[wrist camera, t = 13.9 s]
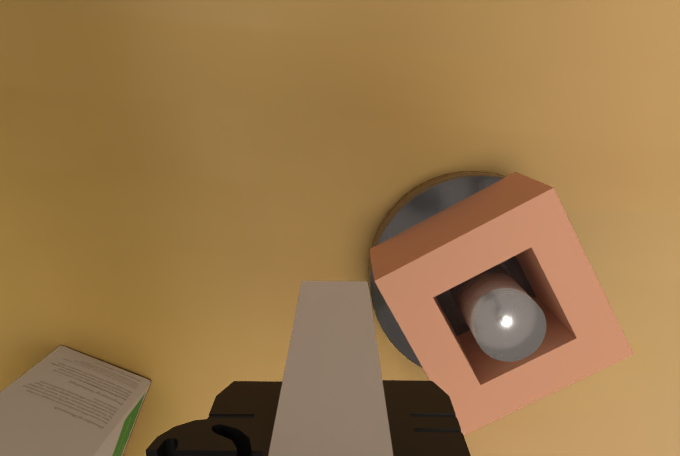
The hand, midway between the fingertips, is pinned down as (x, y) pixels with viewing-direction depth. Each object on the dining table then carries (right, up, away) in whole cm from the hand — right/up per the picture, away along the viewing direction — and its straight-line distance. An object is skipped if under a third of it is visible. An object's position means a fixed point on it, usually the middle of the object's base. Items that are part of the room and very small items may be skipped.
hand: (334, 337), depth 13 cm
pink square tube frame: (+8, 0, +20) cm, 21 cm away
